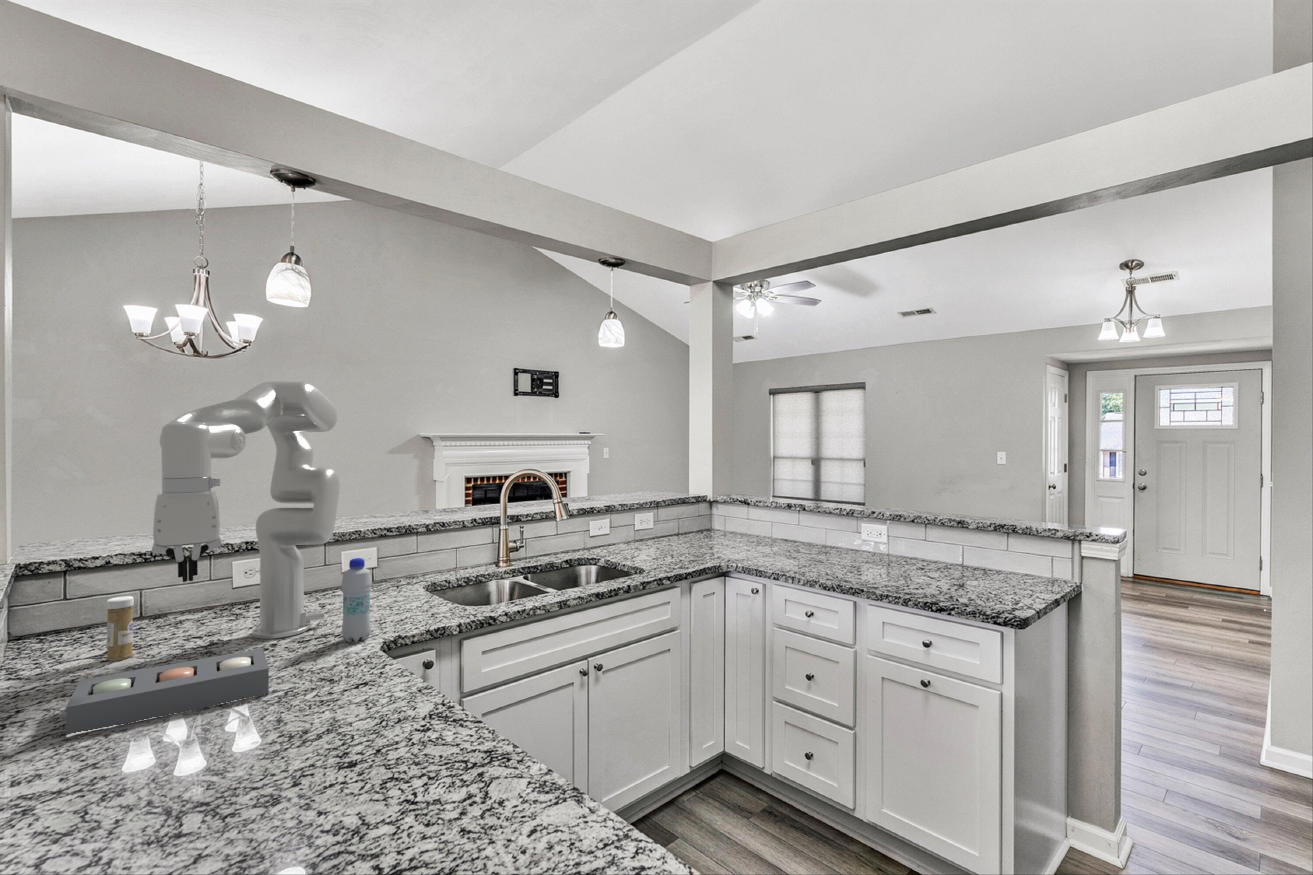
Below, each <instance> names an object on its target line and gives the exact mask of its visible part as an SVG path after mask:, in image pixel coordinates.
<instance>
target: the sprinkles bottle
mask: <svg viewBox="0 0 1313 875" xmlns="http://www.w3.org/2000/svg"><path fill="white" fill-rule="evenodd" d="M134 604H135V600H134V597H133V596H130V595H127V596H125V595H124V596H117V597H112V598H109V599H107V601H106V605H105V606H106V611H107V623H106V647H107V650H106V651H107V654H106V655H107V656H106V660H107V661H109V662H115V661H116V662H117V661H123V660H126V659H129V658H131V657H132V656H134V652H133V649H134V648H133V641H134V621H133V620H134V619H133V617H134V616H133V614H134V613H133V612H134V611H133V610H134V608H133V607H134Z"/></svg>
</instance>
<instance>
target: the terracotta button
mask: <svg viewBox="0 0 1313 875" xmlns="http://www.w3.org/2000/svg"><path fill="white" fill-rule="evenodd" d="M190 676H194V669H193V668H191V667H182V668H176V669H171V670H168V671H165V672H163V673H161V674H160V682H163V681H169V680H174V679H179V678H185V677H190Z"/></svg>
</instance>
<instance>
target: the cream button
mask: <svg viewBox="0 0 1313 875" xmlns="http://www.w3.org/2000/svg"><path fill="white" fill-rule="evenodd" d="M249 665H251V658H249V657H238V658H232V659H228V660H225V661H223V662H221V663H220V671H222V670H228V669H233V668H238V667H244V666H249Z"/></svg>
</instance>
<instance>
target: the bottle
mask: <svg viewBox="0 0 1313 875" xmlns="http://www.w3.org/2000/svg"><path fill="white" fill-rule="evenodd" d="M348 564H349V565H348V566H349V569H347V570H346V571H344V572H343V573H342V580H341V592H342V625H341V635H342V636H341V637H342V640H344V641H345V642H347V643H351V642H352V639H353V641H354V643H357V642H359V639H360V640H361V641H365V640H366V639H368V638H369V636H370V634H371V625H372V624H371V613H370V612H371V611H370V610H371V609H370V608H371V605H370V604H371V599H370V598H371V590H372V582H373V581H372V577H371V571H370V570H369V569H368V568H365V565H366V564H365V559H363V558H361V557H356V558H352V559H350V560H349V563H348ZM367 637H368V638H367Z"/></svg>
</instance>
